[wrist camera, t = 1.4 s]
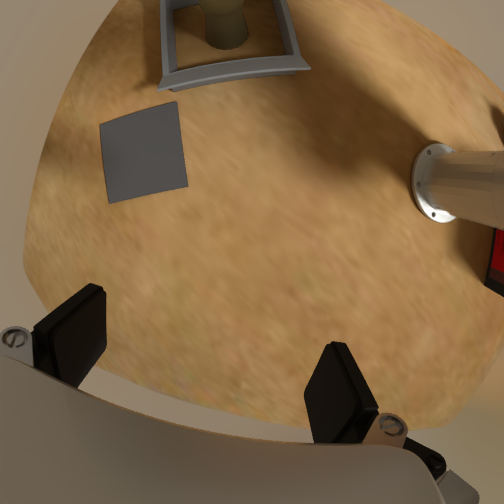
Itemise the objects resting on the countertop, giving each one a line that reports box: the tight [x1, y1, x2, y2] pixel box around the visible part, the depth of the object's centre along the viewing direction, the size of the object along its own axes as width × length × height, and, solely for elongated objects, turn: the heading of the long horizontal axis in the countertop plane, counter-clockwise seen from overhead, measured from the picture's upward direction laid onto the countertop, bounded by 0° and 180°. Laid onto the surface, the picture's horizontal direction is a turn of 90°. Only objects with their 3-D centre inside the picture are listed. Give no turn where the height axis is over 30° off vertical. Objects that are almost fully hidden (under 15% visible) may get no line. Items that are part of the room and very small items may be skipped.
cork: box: [198, 0, 248, 50], centre depth 23 cm, size 6×6×11 cm
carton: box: [157, 0, 311, 92], centre depth 25 cm, size 17×22×8 cm
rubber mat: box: [100, 102, 188, 204], centre depth 33 cm, size 12×12×1 cm
